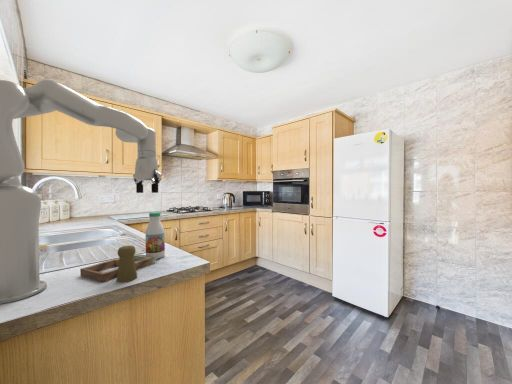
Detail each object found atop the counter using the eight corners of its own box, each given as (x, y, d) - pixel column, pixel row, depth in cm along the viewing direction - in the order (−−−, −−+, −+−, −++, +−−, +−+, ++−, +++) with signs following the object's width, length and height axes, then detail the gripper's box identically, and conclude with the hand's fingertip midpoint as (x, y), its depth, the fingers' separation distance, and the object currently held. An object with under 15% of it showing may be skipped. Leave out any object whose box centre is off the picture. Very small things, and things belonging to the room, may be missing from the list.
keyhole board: (103, 282, 69) (103, 274, 69) (80, 275, 75) (80, 268, 75) (155, 262, 88) (155, 256, 87) (133, 259, 93) (133, 253, 93)
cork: (140, 277, 73) (140, 245, 73) (121, 284, 68) (121, 249, 68) (132, 273, 76) (131, 243, 76) (113, 279, 71) (112, 246, 71)
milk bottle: (143, 257, 96) (143, 212, 96) (161, 253, 101) (160, 211, 101) (148, 261, 90) (148, 213, 90) (167, 257, 95) (166, 212, 95)
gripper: (126, 155, 98) (126, 193, 98) (153, 152, 91) (154, 192, 91) (140, 158, 105) (141, 192, 105) (167, 155, 98) (167, 192, 98)
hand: (147, 192), depth 98 cm, fingers open, 9 cm apart
